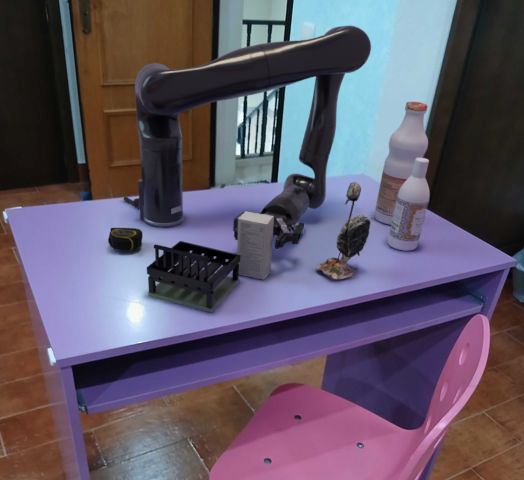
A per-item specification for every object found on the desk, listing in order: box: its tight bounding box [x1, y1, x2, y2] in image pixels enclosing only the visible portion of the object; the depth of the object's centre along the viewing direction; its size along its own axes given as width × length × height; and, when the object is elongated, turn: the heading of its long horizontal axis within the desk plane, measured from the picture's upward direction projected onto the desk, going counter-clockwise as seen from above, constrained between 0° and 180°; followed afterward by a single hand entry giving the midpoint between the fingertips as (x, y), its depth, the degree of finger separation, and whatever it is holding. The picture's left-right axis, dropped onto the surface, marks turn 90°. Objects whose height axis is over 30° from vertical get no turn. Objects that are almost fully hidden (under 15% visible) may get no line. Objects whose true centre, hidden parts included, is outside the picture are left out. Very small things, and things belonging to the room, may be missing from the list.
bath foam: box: [387, 157, 431, 252], centre depth 125 cm, size 7×7×20 cm
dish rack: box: [146, 240, 241, 314], centre depth 104 cm, size 13×13×10 cm
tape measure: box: [107, 227, 144, 252], centre depth 118 cm, size 7×7×4 cm
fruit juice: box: [374, 101, 429, 226], centre depth 136 cm, size 9×9×28 cm
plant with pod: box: [315, 181, 373, 281], centre depth 112 cm, size 8×11×20 cm
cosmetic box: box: [236, 210, 274, 281], centre depth 111 cm, size 6×4×12 cm
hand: (256, 240), depth 111 cm, fingers open, 8 cm apart
